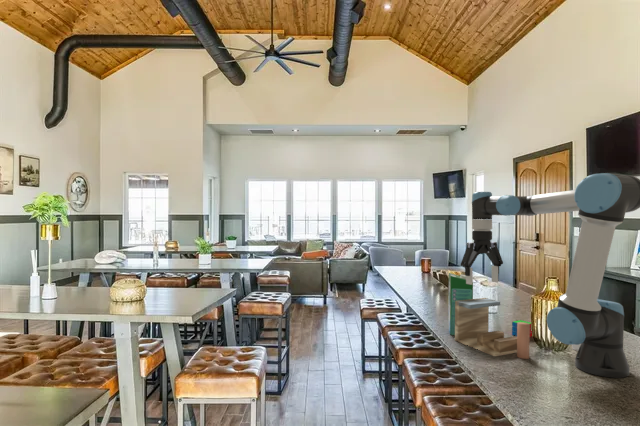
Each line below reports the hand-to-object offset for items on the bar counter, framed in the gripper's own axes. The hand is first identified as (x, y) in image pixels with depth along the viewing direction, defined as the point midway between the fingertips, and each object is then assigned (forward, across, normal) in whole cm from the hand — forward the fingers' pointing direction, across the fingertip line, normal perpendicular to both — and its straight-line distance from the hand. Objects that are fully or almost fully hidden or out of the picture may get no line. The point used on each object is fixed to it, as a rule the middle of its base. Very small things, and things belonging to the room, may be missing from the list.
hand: (482, 283), depth 172 cm
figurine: (+24, -28, +23) cm, 43 cm away
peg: (+24, 0, +20) cm, 31 cm away
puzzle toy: (+24, -22, +1) cm, 32 cm away
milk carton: (+23, 0, -13) cm, 27 cm away
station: (+23, +2, +5) cm, 24 cm away
